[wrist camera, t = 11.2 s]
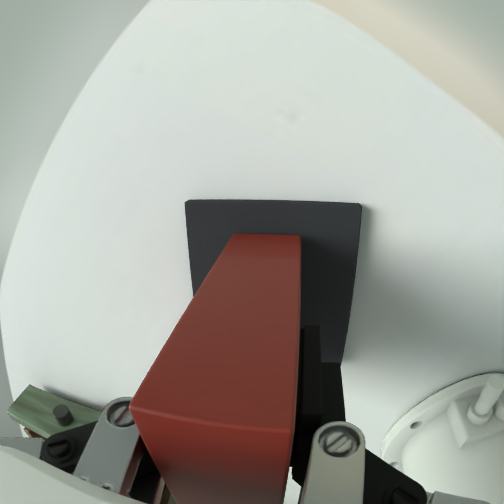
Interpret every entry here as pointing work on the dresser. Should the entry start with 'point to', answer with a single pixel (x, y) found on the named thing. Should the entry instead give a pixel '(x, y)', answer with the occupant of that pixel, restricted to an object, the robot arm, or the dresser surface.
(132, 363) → the dresser surface
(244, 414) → the book
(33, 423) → the drawer
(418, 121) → the dresser surface
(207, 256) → the pad
